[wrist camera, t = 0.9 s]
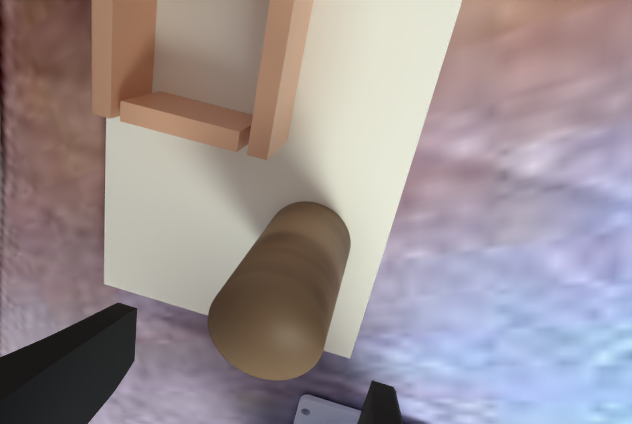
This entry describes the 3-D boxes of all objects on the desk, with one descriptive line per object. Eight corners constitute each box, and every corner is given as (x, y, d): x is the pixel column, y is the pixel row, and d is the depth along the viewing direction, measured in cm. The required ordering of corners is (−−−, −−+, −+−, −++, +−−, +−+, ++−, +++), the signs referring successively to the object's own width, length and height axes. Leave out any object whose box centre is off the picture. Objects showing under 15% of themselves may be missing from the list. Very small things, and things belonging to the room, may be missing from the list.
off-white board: (352, 346, 24) (350, 358, 23) (114, 274, 25) (103, 283, 24) (485, -83, 16) (490, -90, 15) (125, -156, 17) (110, -166, 16)
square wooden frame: (286, 142, 19) (266, 160, 17) (134, 102, 20) (91, 113, 17) (321, -44, 16) (304, -59, 14) (142, -83, 17) (91, -104, 14)
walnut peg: (339, 287, 22) (311, 394, 15) (261, 265, 22) (201, 360, 16) (359, 214, 20) (337, 300, 14) (275, 191, 20) (215, 264, 14)
